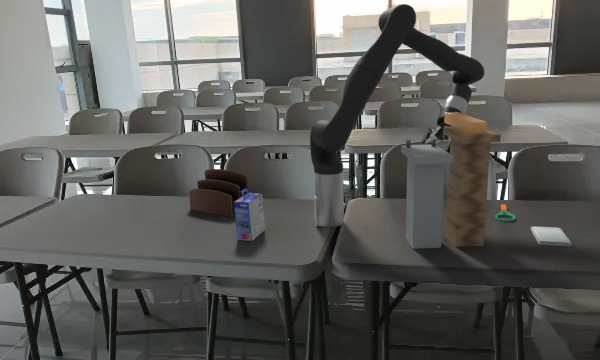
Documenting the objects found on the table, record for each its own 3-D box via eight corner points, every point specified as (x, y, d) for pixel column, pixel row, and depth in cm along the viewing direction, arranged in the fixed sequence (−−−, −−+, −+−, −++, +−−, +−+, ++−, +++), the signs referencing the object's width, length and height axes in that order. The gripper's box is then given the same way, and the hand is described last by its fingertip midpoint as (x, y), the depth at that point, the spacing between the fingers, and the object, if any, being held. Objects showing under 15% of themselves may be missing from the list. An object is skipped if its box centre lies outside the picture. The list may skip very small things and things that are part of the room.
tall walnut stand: (457, 252, 132) (463, 135, 124) (439, 231, 148) (443, 126, 140) (492, 251, 132) (500, 134, 124) (470, 230, 148) (476, 125, 140)
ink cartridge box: (249, 228, 155) (246, 185, 152) (265, 230, 154) (263, 186, 150) (235, 240, 146) (232, 193, 143) (252, 241, 145) (249, 195, 141)
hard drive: (572, 242, 133) (560, 227, 145) (539, 241, 136) (530, 225, 147) (571, 248, 134) (560, 232, 146) (538, 246, 136) (530, 230, 148)
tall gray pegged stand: (413, 254, 132) (416, 149, 125) (399, 233, 147) (401, 138, 140) (448, 253, 132) (453, 147, 125) (431, 232, 148) (434, 137, 140)
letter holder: (208, 202, 185) (205, 166, 182) (250, 210, 175) (248, 171, 171) (190, 210, 177) (186, 172, 173) (232, 218, 167) (229, 178, 163)
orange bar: (471, 134, 126) (472, 122, 125) (444, 122, 147) (444, 112, 147) (486, 133, 126) (487, 122, 125) (457, 122, 147) (457, 112, 147)
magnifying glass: (515, 224, 153) (516, 219, 153) (494, 222, 155) (495, 217, 155) (513, 209, 167) (513, 204, 167) (494, 208, 169) (494, 203, 169)
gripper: (428, 109, 162) (411, 149, 156) (465, 102, 150) (449, 145, 145) (440, 122, 165) (424, 162, 160) (477, 117, 154) (462, 160, 149)
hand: (436, 154), depth 152 cm, fingers open, 8 cm apart
